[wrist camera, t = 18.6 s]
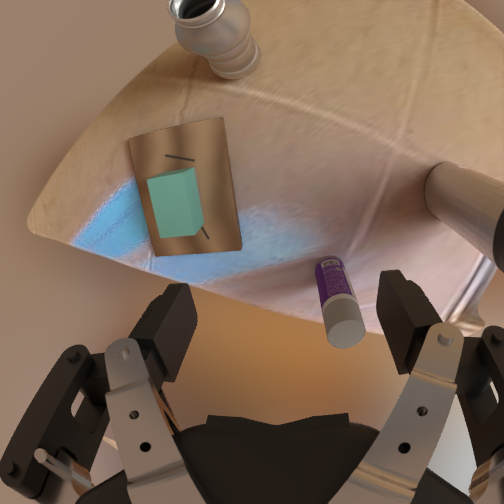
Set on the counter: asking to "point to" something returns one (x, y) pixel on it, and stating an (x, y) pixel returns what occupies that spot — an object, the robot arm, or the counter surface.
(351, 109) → the counter surface
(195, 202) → the block
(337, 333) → the container
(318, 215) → the counter surface
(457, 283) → the counter surface
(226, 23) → the plastic bottle
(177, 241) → the oak board
